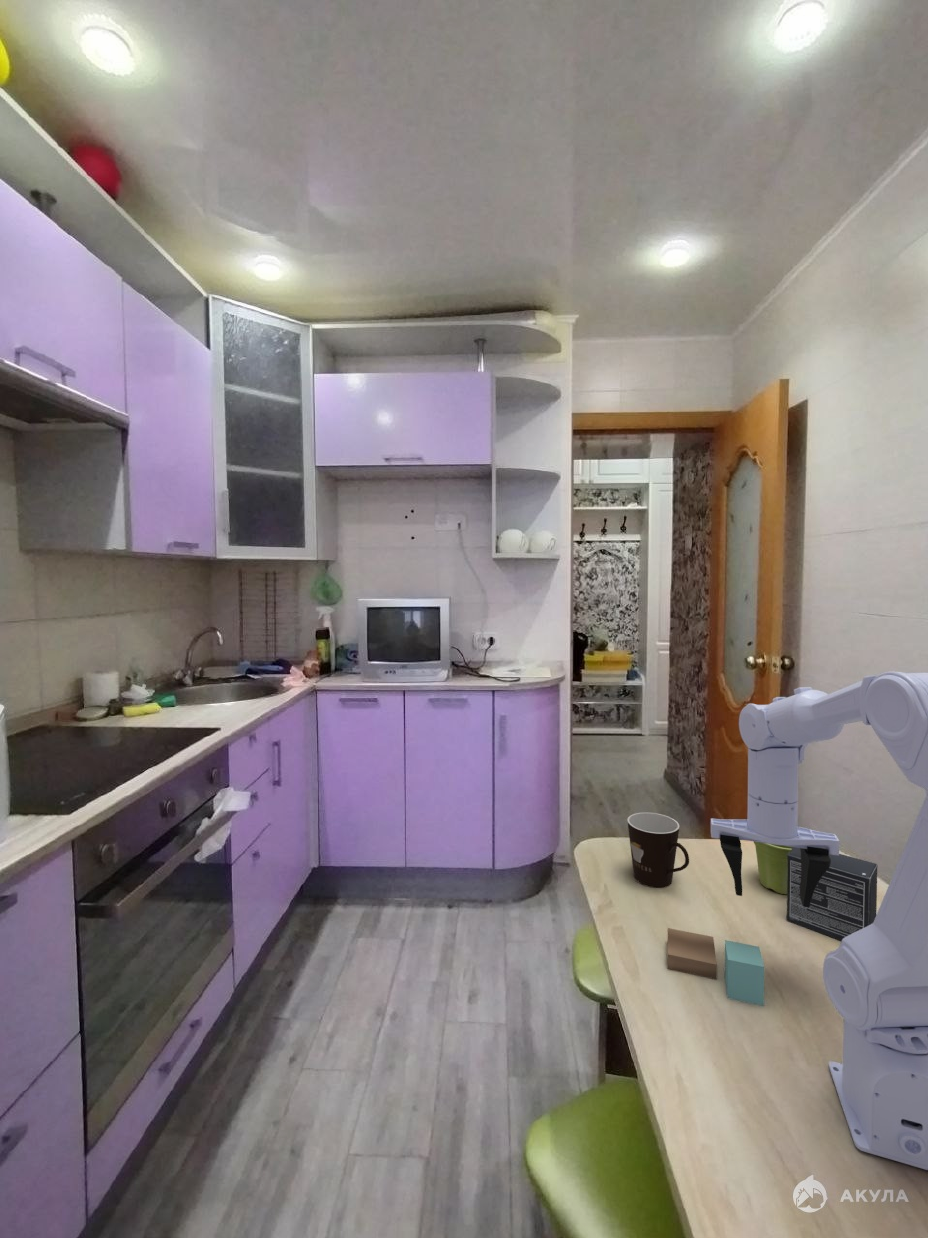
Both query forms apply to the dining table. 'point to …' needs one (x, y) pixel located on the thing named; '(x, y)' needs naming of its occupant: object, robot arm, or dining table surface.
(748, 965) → the teal brick
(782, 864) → the plant pot
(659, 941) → the dining table surface
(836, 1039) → the dining table surface
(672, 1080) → the dining table surface
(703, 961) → the base brick
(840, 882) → the small box
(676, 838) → the coffee mug
